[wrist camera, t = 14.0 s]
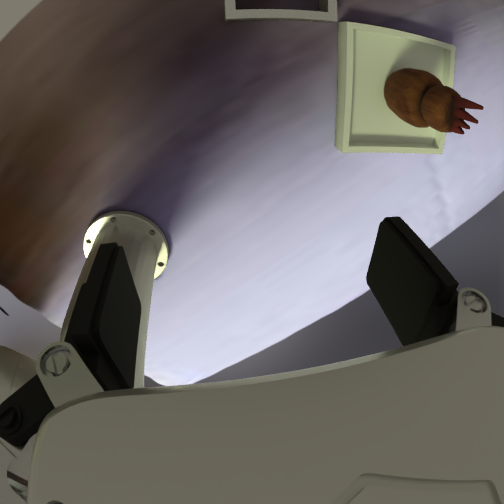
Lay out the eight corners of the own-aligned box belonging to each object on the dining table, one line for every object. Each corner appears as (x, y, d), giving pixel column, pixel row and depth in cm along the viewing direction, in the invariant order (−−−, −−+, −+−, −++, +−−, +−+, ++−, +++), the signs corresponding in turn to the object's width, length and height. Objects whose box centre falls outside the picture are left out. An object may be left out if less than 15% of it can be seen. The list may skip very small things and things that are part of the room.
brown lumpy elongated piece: (387, 56, 29) (474, 80, 17) (421, 75, 30) (507, 109, 19) (369, 104, 33) (447, 148, 21) (404, 120, 34) (482, 169, 23)
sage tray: (432, 147, 38) (442, 154, 36) (334, 145, 37) (342, 152, 35) (444, 43, 28) (455, 46, 26) (338, 22, 27) (346, 21, 25)
